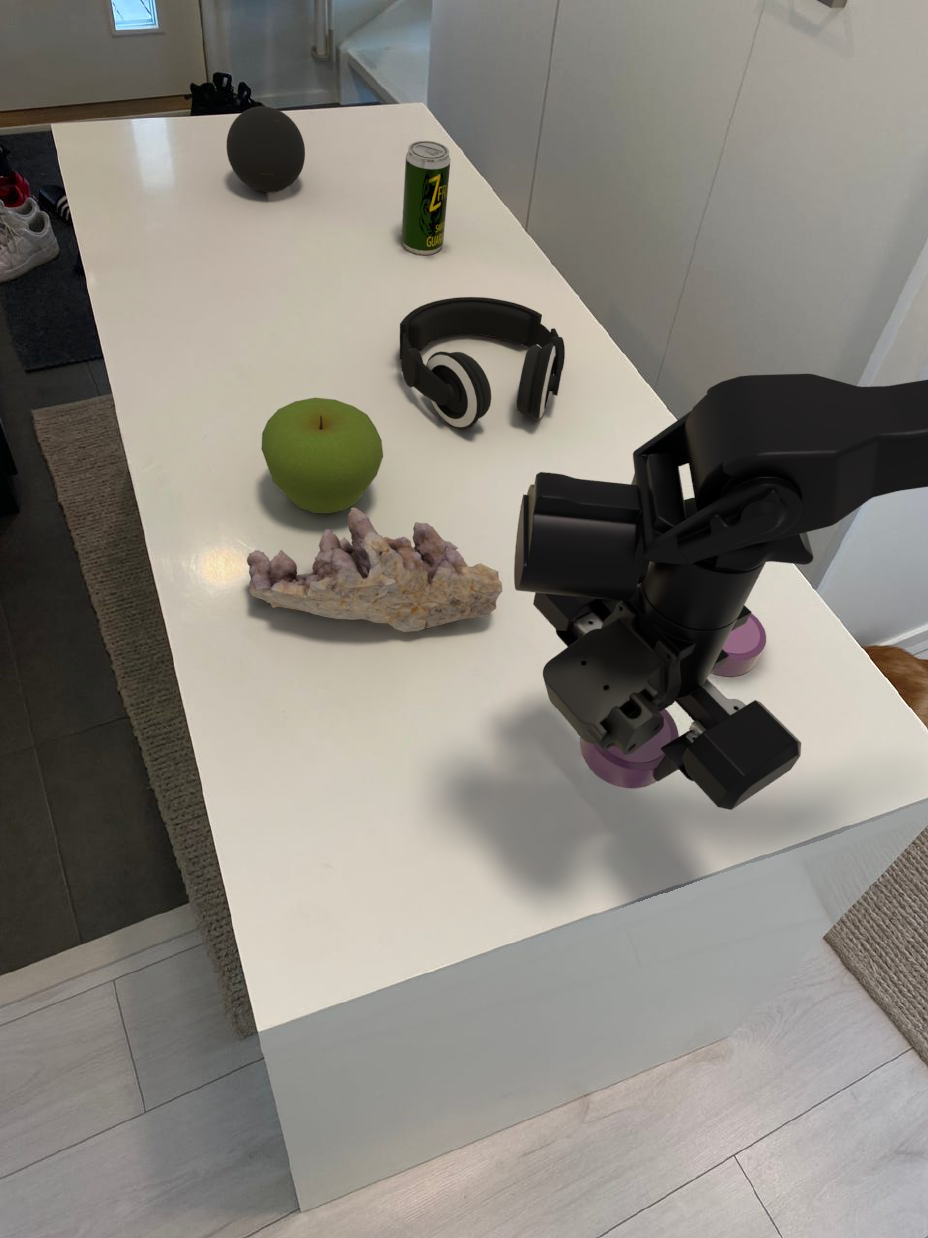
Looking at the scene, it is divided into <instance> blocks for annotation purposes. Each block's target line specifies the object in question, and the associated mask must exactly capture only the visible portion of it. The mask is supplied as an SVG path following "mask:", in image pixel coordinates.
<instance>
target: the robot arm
mask: <svg viewBox="0 0 928 1238" xmlns="http://www.w3.org/2000/svg"><path fill="white" fill-rule="evenodd" d="M632 461H633V469H634V470H633V471H634V474H633V477H632V481H631V483H623V482H611V481H604V480H603V481H602V480H592V479H584V478H583V479H582V478H577V477H572V476H569V475H566V474H562V473H555V472H547V471H546V472H545V471H540V472H538V473H536V474H535V478H534V483H533V484H530V485H529V486H528V489H527V493H526V494H524V493H523V494H522V498H521V501H520V502H521V503H520V509H519V515H518V521H517V531H516V540H515V550H514V552H515V553H514V565H513V580H514V581H513V582H514V583H513V584H514V589H515V591H517V592H527V593H534V597H533V602H532V605H533V606H534V607H535V609H537V611H538V612H539V613H540V614H541V615H542V616H543V617H544V618H545V619H546V620H547V621H548V622H549V624H550V625H551V626H552V627H553V628H554V629H555V634H556V636H557V637H558V638H559V639H560V640H561V641H562V643H563V644H564V645H565V646H566V648H564V649H563V650H562V651H560V652H559V653H557V654H556V655H555V656H553V657H552V658H550V660H548V661H547V662H546V663H545V665H544V667H543V669H542V678H543V682H544V686H545V690H546V693H547V696H548V700H549V701H550V703H551V705H552V706H553V707H554V708H555V709H556V710H557V711H558V712H559V713H560V714H561V715H562V717H563V718H564V719H565V720H566V721H567V722H568V723H569V725H570V726H571V727H572V728H573V729H574V730H575V733H576V734H577V735H578V736H579V738H580V737H581V738H582V739H583V740H584V741H586V742H588V743H591V744H597V745H598V746H599V747H600V748H601V749H602V750H603V751H606V750H608V749H609V748H611V747H617V748H618V749H619V750H620V751H621V752H622V753H623V754H624V755H629V754H632V753H633V752H635V751H636V750H637V749H638V748H640V747H641V746H642V745H644V744H645V743H646V742H647V741H649V740H650V739H651V738H653V737H654V736H655V735H657V734H658V733H659V732H660V731H661V729H662V728H663V727H664V716H663V715H662V714H661V713H660V711H662V710H664V709H668V708H669V707H670V706H672V705H674V703H676V704H677V705H678V706H679V707H680V708H681V709H682V710H683V711H684V712H685V713H686V715H688V717H689V718H691V720H692V722H691V723H690V726H689V728H688V730H687V731H686V732H684V733H683V734H681V735H679V737H678V738H676V739H674V740H673V741H671V742H669V743H668V744H666V745H664V746H663V747H661V750H662V751H663V753H664V754H665V756H664V757H663V759H662V760H661V762H660V763H659V765H658V767H657V768H656V771H655V774H654V779H655V780H656V781H657V782H656V783H658V782H660V781H662V780H664V779H665V778H667V777H669V776H670V775H672V774H673V773H675V772H677V771H680V772H681V774H682V775H683V776H684V777H685V778H686V779H687V780H688V781H691V782H694V783H695V784H696V785H697V787H698V788H700V790H701V791H702V792H703V793H704V794H705V795H706V796H707V797H708V798H709V799H710V800H711V802H712V803H714V805H715V806H716V807H717V808H720V809H724V810H730V811H732V810H734V809H736V807H739V805H741V804H743V803H744V802H745V801H747V800H749V799H750V798H751V797H753V796H755V795H756V794H757V793H759V792H760V791H762V790H763V789H765V788H766V787H768V786H769V785H770V784H772V783H773V782H775V781H776V780H779V778H781V777H782V776H784V775H786V774H787V773H788V772H790V771H791V770H792V769H793V767H794V766H795V764H796V763H797V761H798V760H799V759H800V758H801V755H802V754H801V753H802V741H800V739H799V738H798V737H796V736H795V735H794V733H792V731H790V730H789V728H788V727H786V726H785V725H784V724H783V722H782V721H780V720H779V719H778V718H777V716H775V715H774V714H773V713H772V712H771V711H770V710H769V709H768V707H766V706H765V705H764V704H763V703H762V702H761V701H759V700H756V699H754V700H753V701H751V702H749V703H747V704H746V703H744V702H743V701H742V700H740V699H738V698H727V697H726V695H724V694H723V693H722V692H721V691H720V690H719V689H718V688H717V687H716V686H715V684H713V682H711V681H710V679H709V676H710V674H713V673H712V672H713V671H715V670H717V669H719V668H720V667H722V666H724V664H725V663H726V661H727V659H728V657H729V655H728V654H727V653H726V652H725V651H724V650H723V649H722V648H723V646H724V644H725V642H726V640H727V638H728V636H729V634H730V632H731V631H733V630H735V629H736V628H738V627H740V626H742V625H744V624H745V623H746V622H747V620H748V618H749V617H750V615H751V613H752V612H753V611H751V609H749V608H748V607H747V606H746V605H745V604H746V602H747V601H748V598H749V597H750V594H751V592H752V591H753V588H754V587H755V585H756V583H757V581H758V579H759V577H760V575H761V573H762V571H763V570H764V567H765V565H766V563H767V562H768V563H770V562H772V563H783V564H792V565H803V566H806V565H809V564H811V563H812V562H813V561H814V553H813V550H812V547H811V541H810V539H809V534H808V532H813V531H817V530H821V529H826V528H829V527H832V526H835V525H836V524H837V523H839V522H840V521H842V520H844V518H846V517H847V516H848V515H851V513H852V512H853V513H854V511H856V510H857V509H859V508H860V507H861V506H863V505H864V504H866V503H867V502H869V501H870V500H872V499H873V498H876V497H880V496H884V495H888V494H893V493H896V492H900V491H901V492H902V491H907V490H908V491H909V490H915V489H923V488H928V379H922V380H917V381H909V382H904V383H898V384H890V385H877V386H875V385H873V386H859V385H854V384H851V383H846V382H843V381H840V380H836V379H832V378H829V377H825V376H821V375H818V374H814V373H783V374H782V373H781V374H780V373H779V374H749V375H740V376H736V377H733V378H729V379H726V380H723V381H720V382H718V383H717V384H715V385H712V386H711V387H709V388H708V389H707V390H706V394H705V395H704V396H703V397H702V398H701V399H700V400H699V401H698V402H697V403H696V404H695V405H694V406H693V407H692V409H691V410H689V411H688V412H687V413H685V414H684V415H683V416H682V417H680V418H679V419H677V420H676V421H674V422H673V423H671V424H670V425H669V426H667V427H666V428H664V429H663V430H662V431H660V432H659V433H657V434H656V435H654V436H653V437H652V438H651V439H649V440H648V441H646V442H644V443H643V444H642V445H641V446H639V447H638V448H636V449H635V450H634V451H633V452H632ZM685 465H688V467H689V473H690V478H691V480H690V481H691V486H692V491H693V497H690V498H686V499H685V497H684V492H683V485H682V479H681V473H680V467H682V466H685ZM752 614H753V613H752Z"/></svg>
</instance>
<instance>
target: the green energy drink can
mask: <svg viewBox="0 0 928 1238" xmlns="http://www.w3.org/2000/svg"><path fill="white" fill-rule="evenodd" d="M407 147H408V148H407V152H406V154H405V167H404V182H403V183H404V185H403V200H402V201H403V202H402V203H403V204H402V207H403V208H402V220H401V221H402V224H401V241H402V244H403V247H404V248H405V249H406V250H407V251H408V252H410V253H412V254H415V255H419V256H430V255H433V254H436V253H438V252H439V251H440V250H441V249H442V246H443V245H444V237H445V227H446V226H445V225H446V216H447V215H446V214H447V205H448V193H449V181H450V170H451V157H450V150H449V148H448V147H447V146H446V145H444V144H442V143H441V142H437V141H433V140H418V141H414V142H411V143H410V144H409V145H408V146H407Z"/></svg>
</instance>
